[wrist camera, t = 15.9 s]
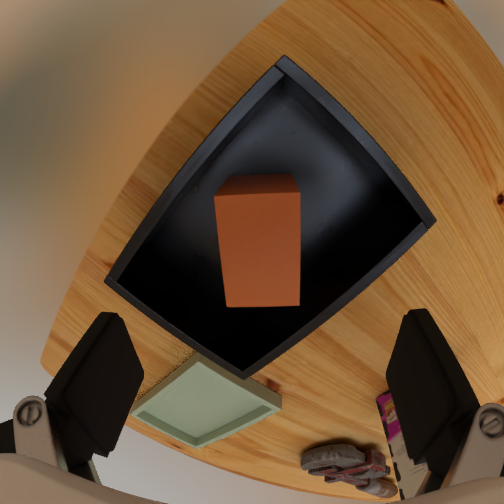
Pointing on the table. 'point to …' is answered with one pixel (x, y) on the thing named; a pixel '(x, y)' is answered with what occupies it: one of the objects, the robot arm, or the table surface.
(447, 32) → the table surface
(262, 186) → the orange brown rectangular block
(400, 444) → the candy bar box
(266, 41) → the table surface
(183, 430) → the shallow green tray
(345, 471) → the pipe wrench
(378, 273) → the dark open storage bin
